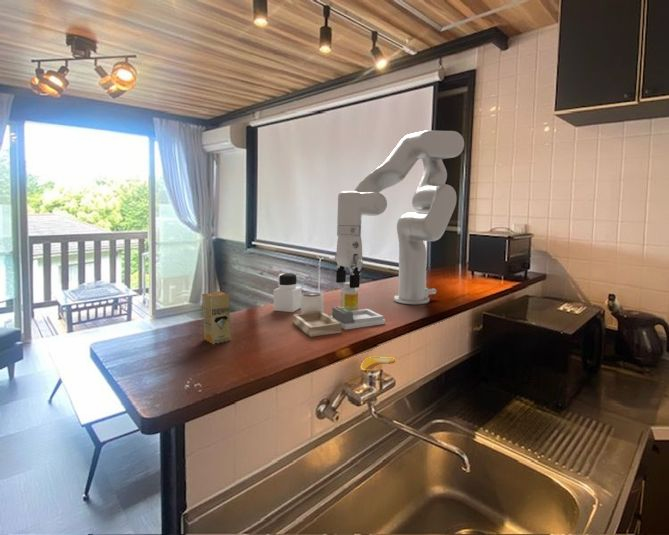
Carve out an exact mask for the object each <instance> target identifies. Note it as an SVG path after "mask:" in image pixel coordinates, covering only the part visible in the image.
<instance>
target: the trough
mask: <svg viewBox="0 0 669 535" xmlns="http://www.w3.org/2000/svg"><path fill="white" fill-rule="evenodd" d="M292 315H293V316H292V318H293V319H292V321H293V322H292V323H293V324H294V325H295V326H296V327H298V328H299V329H300V330H301V331H303V332H304V333H305V334H306V335H308V336H309V337H310V338H311V337H319V336H325V335H334V334H340V333H342V327H341V323H340V322H338V321H336V320H335V319H333V318H332V317H330V316H331V315H328V314H327V313H325V312H324V311H323V312H322V311H319V312H311V313H303V314H301V313H297V314H292Z"/></svg>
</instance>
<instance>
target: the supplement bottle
mask: <svg viewBox="0 0 669 535" xmlns="http://www.w3.org/2000/svg"><path fill="white" fill-rule="evenodd" d="M349 284H350V281H345V282H343V288H342V289H341V294H340V296H341V298H340V299H341V300H340V303H341V304H340V306H341V307H343V308H345V309H347V310H349V311H353V310H359V308H358V306H359V301H358V300H359V291H358V289H357V288H350V287H349Z"/></svg>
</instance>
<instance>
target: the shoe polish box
mask: <svg viewBox="0 0 669 535" xmlns="http://www.w3.org/2000/svg"><path fill="white" fill-rule="evenodd" d="M201 297H202V300H201V301H202V315H203V317H202V318H203V335H204V336H203V337H204V341H206V340H207V341H206V342H208V341H209V342H210V344H211V343H212V344H211V345H216V344H215V343H217V344H221V343H225V342H229V340H230V341H232V333H231V332H232V330H231V327H232V326H231V309H230V308H231V307H230V305H231V304H230V294H229V293H226V292H222V291H216V292H215V291H214V292H208V293H202V294H201ZM224 341H225V342H224ZM209 342H208V343H209ZM220 342H221V343H220Z"/></svg>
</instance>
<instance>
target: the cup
mask: <svg viewBox="0 0 669 535" xmlns="http://www.w3.org/2000/svg"><path fill="white" fill-rule="evenodd" d="M301 293H302V294H301V308H300V314H303V313H311V312H319V311H322V312H324V293H323V292H317V291H316V292H315V291H311V292H310V291H309V292H307V291H306V292H301Z"/></svg>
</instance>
